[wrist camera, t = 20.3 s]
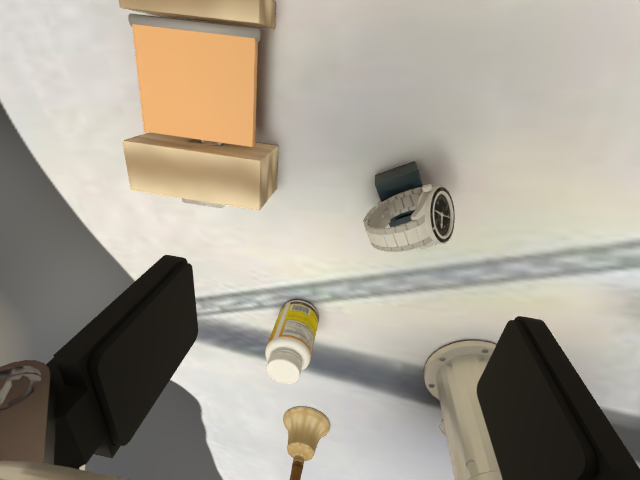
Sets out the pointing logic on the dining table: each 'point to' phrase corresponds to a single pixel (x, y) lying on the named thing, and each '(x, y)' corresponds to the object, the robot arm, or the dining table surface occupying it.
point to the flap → (197, 78)
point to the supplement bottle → (291, 341)
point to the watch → (409, 212)
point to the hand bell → (304, 435)
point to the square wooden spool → (189, 154)
